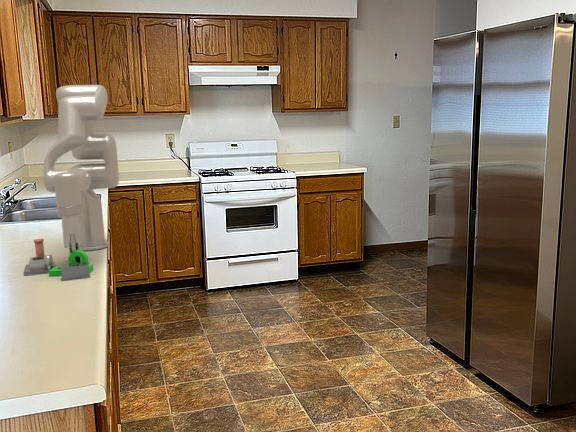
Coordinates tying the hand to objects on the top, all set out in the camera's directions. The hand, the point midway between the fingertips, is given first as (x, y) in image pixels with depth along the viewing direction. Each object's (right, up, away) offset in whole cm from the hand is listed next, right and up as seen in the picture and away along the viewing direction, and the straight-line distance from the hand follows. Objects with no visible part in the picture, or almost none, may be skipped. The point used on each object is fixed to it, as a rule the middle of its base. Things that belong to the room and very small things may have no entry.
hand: (75, 266), depth 187 cm
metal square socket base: (-12, -1, 0) cm, 12 cm away
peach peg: (-15, 0, +8) cm, 16 cm away
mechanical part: (0, -2, -4) cm, 5 cm away
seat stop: (+4, -3, -10) cm, 11 cm away
